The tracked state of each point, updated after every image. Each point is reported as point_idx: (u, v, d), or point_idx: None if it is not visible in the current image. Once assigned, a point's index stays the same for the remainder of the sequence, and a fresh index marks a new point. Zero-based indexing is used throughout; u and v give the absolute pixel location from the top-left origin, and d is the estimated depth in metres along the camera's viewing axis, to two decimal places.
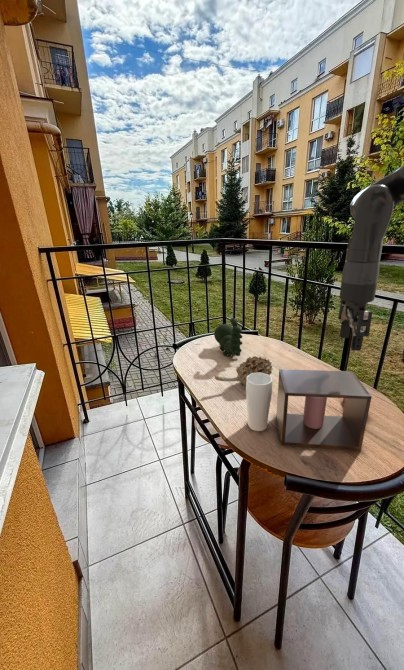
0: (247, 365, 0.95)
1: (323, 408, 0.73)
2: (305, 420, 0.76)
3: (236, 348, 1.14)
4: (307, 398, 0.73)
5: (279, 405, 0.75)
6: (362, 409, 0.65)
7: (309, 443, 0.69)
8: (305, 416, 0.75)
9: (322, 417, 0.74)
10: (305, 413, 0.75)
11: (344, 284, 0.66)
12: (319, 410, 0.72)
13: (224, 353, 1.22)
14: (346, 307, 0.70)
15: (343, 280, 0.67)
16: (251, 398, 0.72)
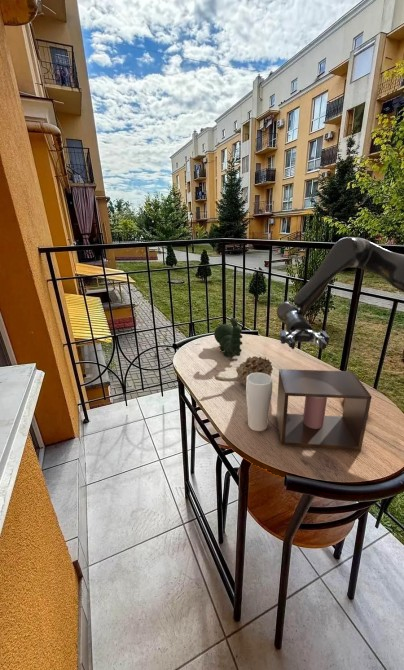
0: (247, 365, 0.95)
1: (323, 408, 0.73)
2: (305, 420, 0.76)
3: (236, 348, 1.14)
4: (307, 398, 0.73)
5: (279, 405, 0.75)
6: (362, 409, 0.65)
7: (309, 443, 0.69)
8: (305, 416, 0.75)
9: (322, 417, 0.74)
10: (305, 413, 0.75)
11: None
12: (319, 410, 0.72)
13: (224, 353, 1.22)
14: None
15: None
16: (251, 398, 0.72)
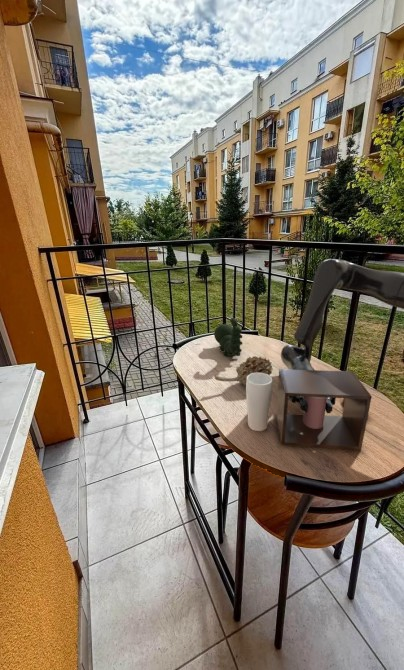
0: (247, 365, 0.95)
1: (323, 408, 0.72)
2: (305, 420, 0.76)
3: (236, 348, 1.14)
4: (307, 398, 0.73)
5: (279, 405, 0.75)
6: (362, 409, 0.65)
7: (309, 443, 0.69)
8: (305, 416, 0.75)
9: (322, 417, 0.74)
10: (305, 413, 0.75)
11: None
12: (319, 410, 0.72)
13: (224, 353, 1.22)
14: None
15: None
16: (251, 398, 0.72)
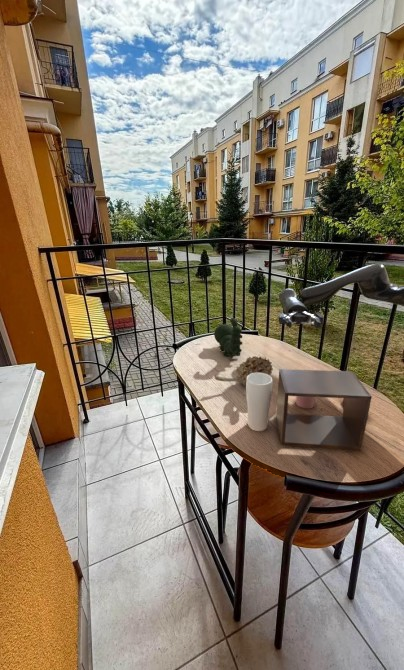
0: (247, 365, 0.95)
1: None
2: (297, 401, 0.86)
3: (236, 348, 1.14)
4: None
5: (279, 405, 0.75)
6: (362, 409, 0.65)
7: (309, 443, 0.69)
8: (297, 397, 0.85)
9: (312, 398, 0.84)
10: None
11: None
12: None
13: (224, 353, 1.22)
14: None
15: None
16: (251, 398, 0.72)
